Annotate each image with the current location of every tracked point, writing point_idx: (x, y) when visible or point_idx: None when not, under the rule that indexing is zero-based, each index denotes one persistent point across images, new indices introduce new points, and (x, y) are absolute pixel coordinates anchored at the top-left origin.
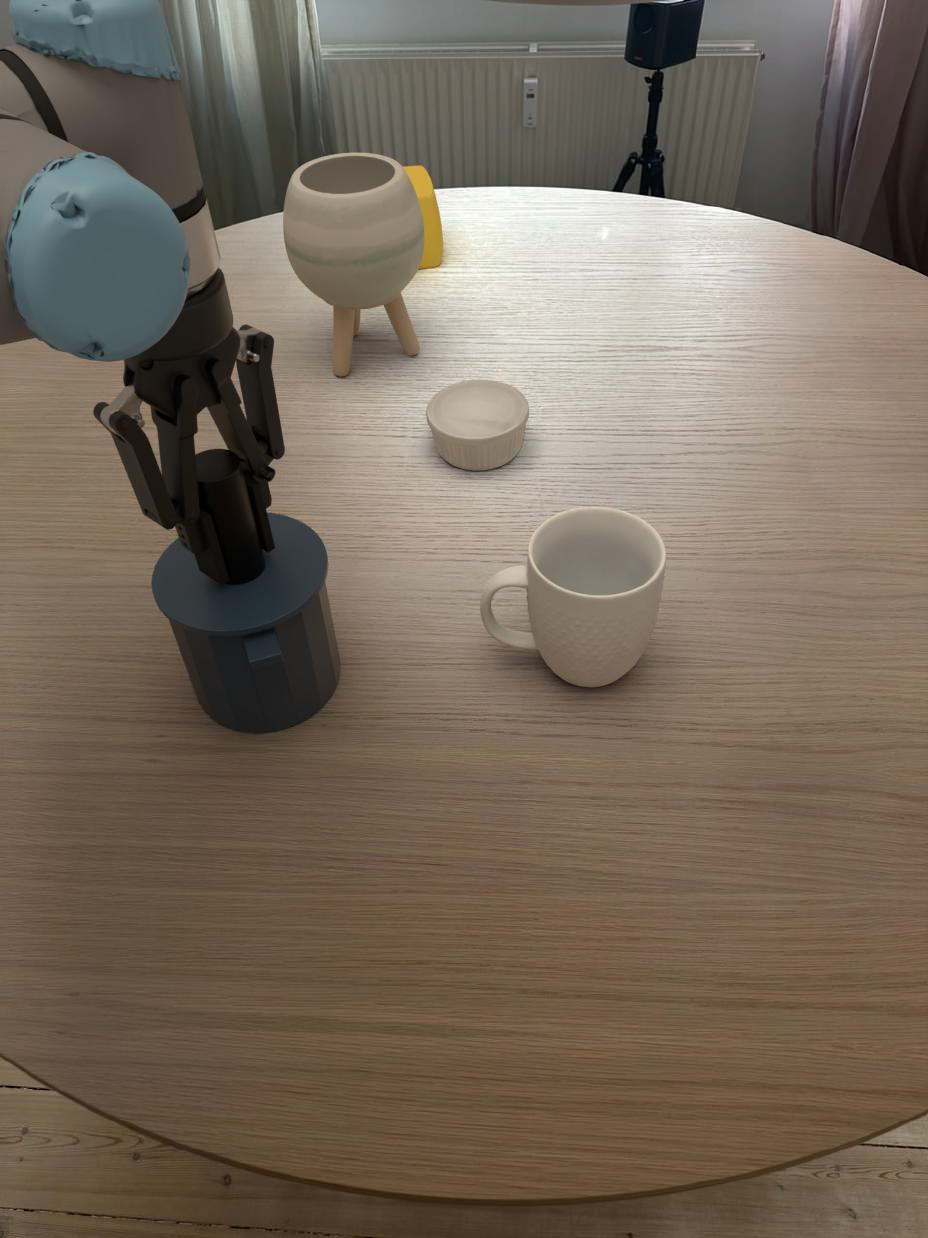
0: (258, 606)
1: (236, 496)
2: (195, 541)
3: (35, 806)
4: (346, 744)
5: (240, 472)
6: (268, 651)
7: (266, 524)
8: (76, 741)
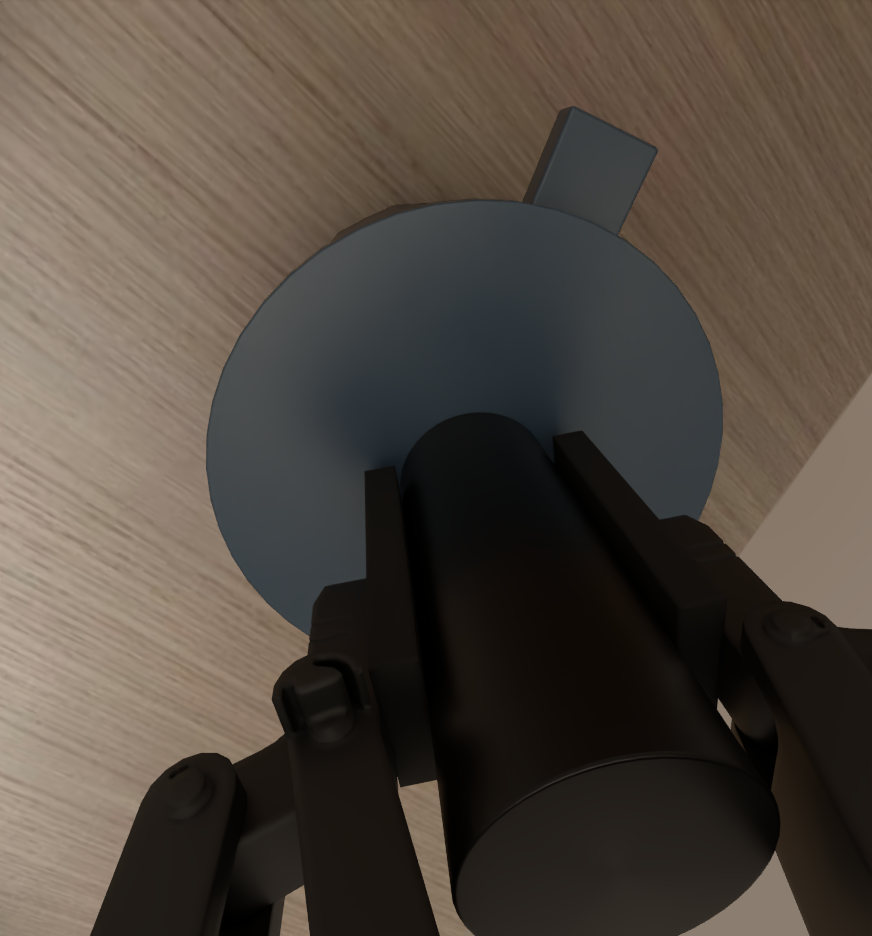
0: (535, 300)
1: (555, 633)
2: (706, 550)
3: (843, 361)
4: (407, 79)
5: (509, 756)
6: (594, 144)
7: (379, 526)
8: (728, 435)
